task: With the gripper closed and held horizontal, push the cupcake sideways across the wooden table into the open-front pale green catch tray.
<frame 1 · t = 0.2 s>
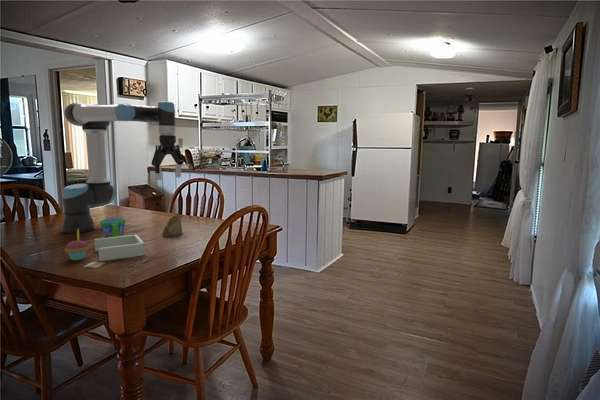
hand: (169, 178, 194), 28 cm above the table, tool pointing down, fingers open, 13 cm apart
cupcake: (78, 258, 157), on the table
rock: (172, 234, 197), on the table
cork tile: (94, 267, 148), on the table
snack cup: (114, 241, 183), on the table
catch tray: (119, 252, 165), on the table
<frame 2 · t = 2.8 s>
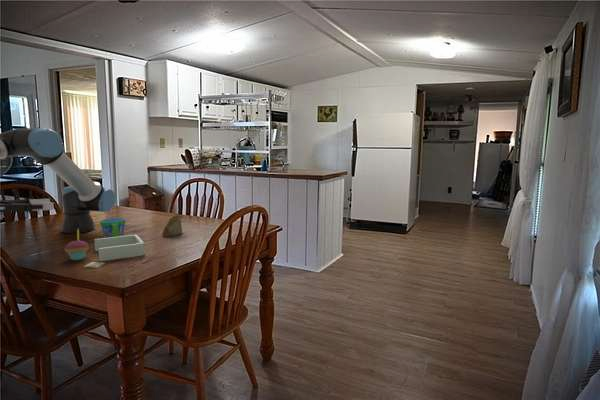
hand: (51, 203, 150), 23 cm above the table, tool horizontal, fingers open, 13 cm apart
nothing on the table moved.
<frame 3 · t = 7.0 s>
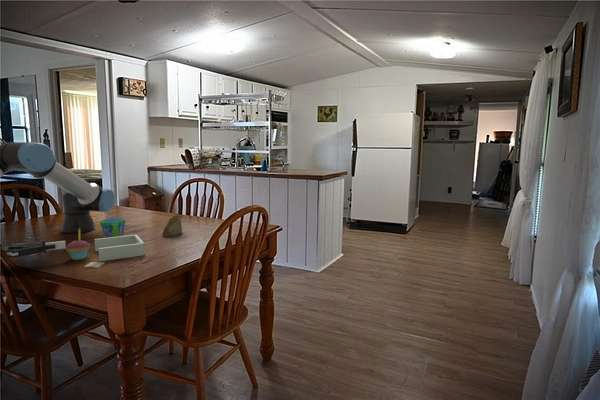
hand: (65, 244, 154), 6 cm above the table, tool horizontal, fingers closed
cupcake: (79, 258, 158), on the table, touching gripper
everything else where it was.
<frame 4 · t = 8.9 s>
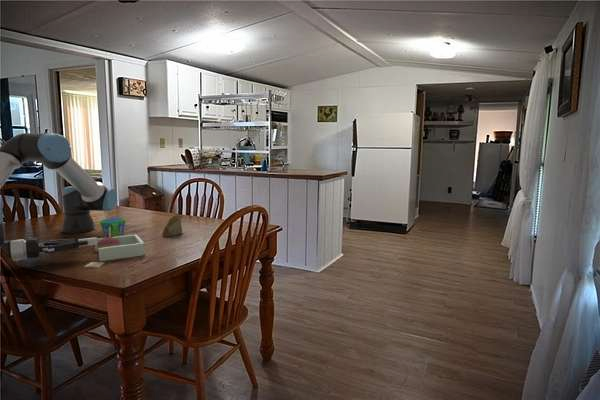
hand: (96, 240, 159), 6 cm above the table, tool horizontal, fingers closed
cupcake: (109, 254, 163), on the table, touching gripper
everything else where it was.
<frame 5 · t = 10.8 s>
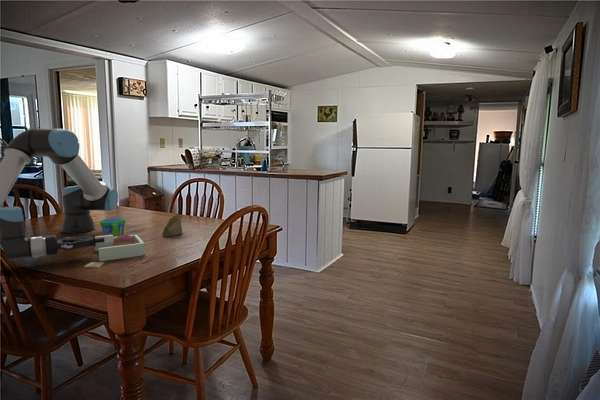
hand: (112, 238, 163), 7 cm above the table, tool horizontal, fingers closed
cupcake: (124, 252, 167), on the table, touching gripper
everything else where it was.
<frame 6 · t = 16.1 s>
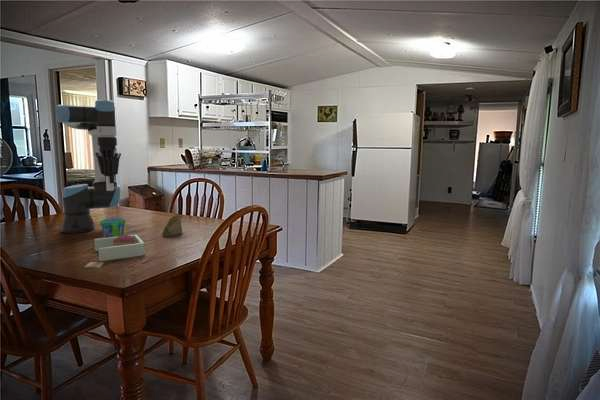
hand: (110, 190, 175), 24 cm above the table, tool pointing down, fingers closed
cupcake: (124, 252, 167), on the table
everything else where it was.
at the end: cupcake 2.4 cm from the catch tray (horizontally); cupcake tilted 0°; cupcake touching table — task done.
